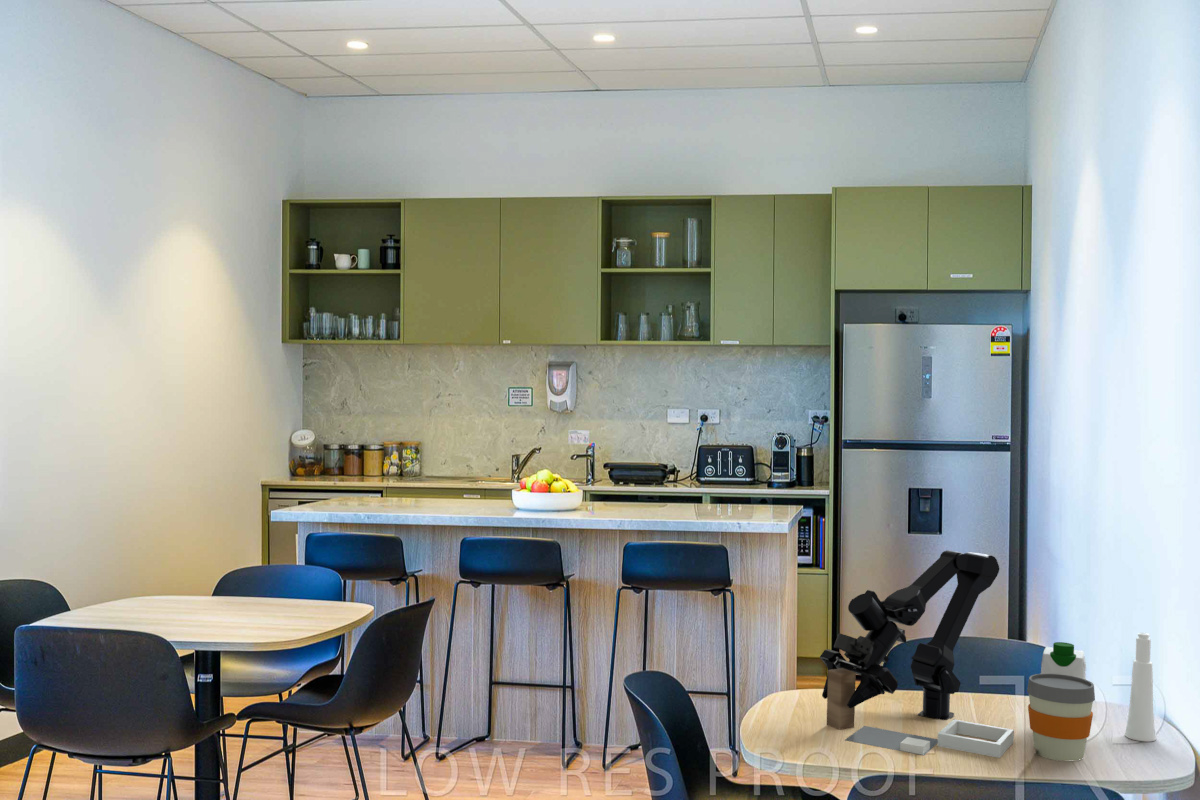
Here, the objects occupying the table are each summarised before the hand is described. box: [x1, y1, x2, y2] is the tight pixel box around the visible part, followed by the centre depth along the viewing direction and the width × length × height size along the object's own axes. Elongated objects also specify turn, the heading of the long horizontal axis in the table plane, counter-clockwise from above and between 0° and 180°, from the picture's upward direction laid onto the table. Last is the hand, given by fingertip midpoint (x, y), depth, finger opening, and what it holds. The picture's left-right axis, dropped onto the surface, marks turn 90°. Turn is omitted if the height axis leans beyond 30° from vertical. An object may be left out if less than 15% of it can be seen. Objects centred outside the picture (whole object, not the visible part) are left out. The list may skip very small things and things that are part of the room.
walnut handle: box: [826, 668, 857, 731], centre depth 239 cm, size 4×4×13 cm
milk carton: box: [1040, 641, 1087, 680], centre depth 241 cm, size 9×9×20 cm
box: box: [936, 718, 1015, 759], centre depth 229 cm, size 12×12×4 cm
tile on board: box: [900, 737, 930, 756], centre depth 225 cm, size 4×4×2 cm
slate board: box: [844, 725, 938, 756], centre depth 231 cm, size 12×16×2 cm
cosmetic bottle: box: [1124, 632, 1157, 743], centre depth 242 cm, size 6×6×22 cm
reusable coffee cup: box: [1026, 673, 1096, 761], centre depth 228 cm, size 13×13×15 cm
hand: (835, 702), depth 239 cm, fingers open, 7 cm apart
